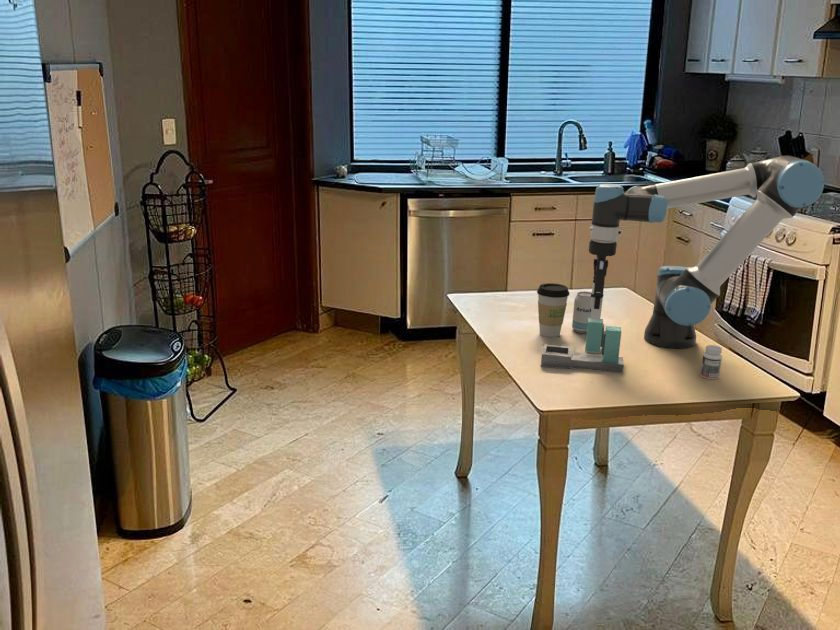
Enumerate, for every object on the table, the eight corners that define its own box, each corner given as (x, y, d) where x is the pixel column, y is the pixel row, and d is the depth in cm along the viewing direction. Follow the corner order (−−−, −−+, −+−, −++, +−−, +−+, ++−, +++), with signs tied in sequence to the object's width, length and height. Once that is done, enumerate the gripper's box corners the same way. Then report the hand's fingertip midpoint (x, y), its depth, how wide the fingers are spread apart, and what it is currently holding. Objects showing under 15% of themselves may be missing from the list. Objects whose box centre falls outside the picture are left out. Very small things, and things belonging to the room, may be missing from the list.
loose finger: (601, 348, 234) (604, 319, 232) (601, 352, 230) (604, 323, 228) (585, 346, 235) (588, 317, 233) (585, 351, 231) (588, 321, 229)
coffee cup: (565, 340, 240) (569, 292, 236) (532, 337, 242) (536, 289, 237) (566, 330, 249) (570, 284, 245) (534, 327, 251) (538, 281, 247)
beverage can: (571, 333, 247) (574, 295, 243) (572, 326, 253) (575, 290, 250) (593, 335, 245) (597, 298, 242) (594, 328, 252) (598, 292, 248)
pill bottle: (704, 371, 218) (708, 343, 216) (721, 376, 215) (725, 347, 213) (697, 376, 215) (701, 347, 212) (715, 381, 212) (719, 351, 209)
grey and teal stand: (621, 364, 222) (626, 325, 219) (622, 374, 215) (627, 334, 211) (542, 356, 226) (545, 318, 223) (540, 366, 219) (544, 326, 215)
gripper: (589, 230, 235) (582, 299, 242) (589, 248, 212) (581, 323, 219) (615, 232, 234) (607, 301, 241) (618, 250, 211) (609, 326, 217)
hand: (595, 312), depth 230 cm, fingers open, 13 cm apart
